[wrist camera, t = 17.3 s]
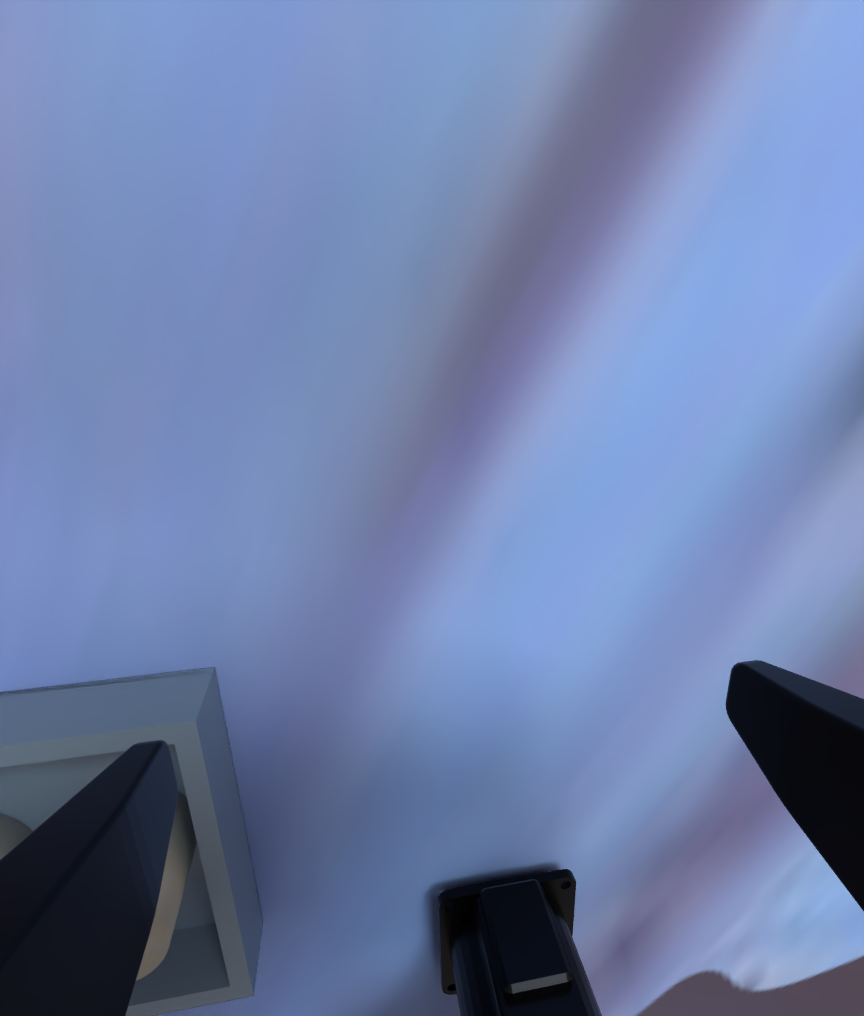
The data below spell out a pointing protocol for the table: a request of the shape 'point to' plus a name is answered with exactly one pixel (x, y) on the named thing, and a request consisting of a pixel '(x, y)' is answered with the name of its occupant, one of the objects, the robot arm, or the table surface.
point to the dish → (200, 776)
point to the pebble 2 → (171, 887)
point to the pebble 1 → (11, 834)
